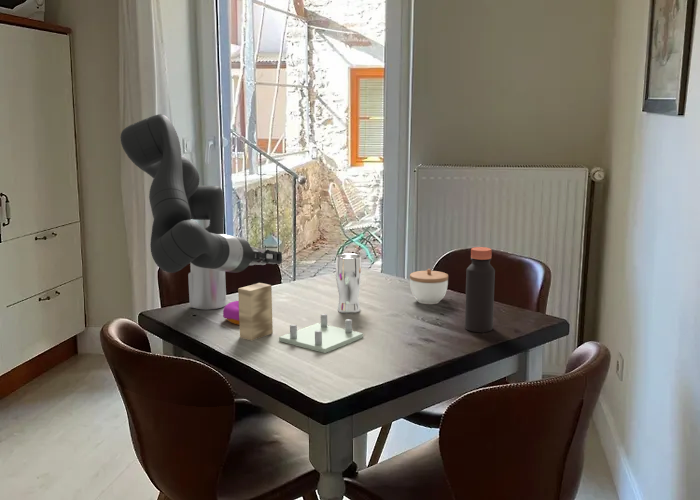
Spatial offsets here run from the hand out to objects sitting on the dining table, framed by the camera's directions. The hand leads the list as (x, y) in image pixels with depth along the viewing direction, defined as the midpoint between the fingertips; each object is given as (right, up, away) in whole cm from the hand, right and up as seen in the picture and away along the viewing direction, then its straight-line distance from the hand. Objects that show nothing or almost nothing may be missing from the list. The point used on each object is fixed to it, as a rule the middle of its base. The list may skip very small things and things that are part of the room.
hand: (262, 258), depth 160 cm
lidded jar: (+42, -13, +39) cm, 58 cm away
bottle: (+52, -18, +13) cm, 56 cm away
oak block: (-3, -18, +9) cm, 21 cm away
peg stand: (+13, -19, +6) cm, 24 cm away
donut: (-8, -16, +22) cm, 28 cm away
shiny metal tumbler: (+19, -15, +30) cm, 38 cm away
